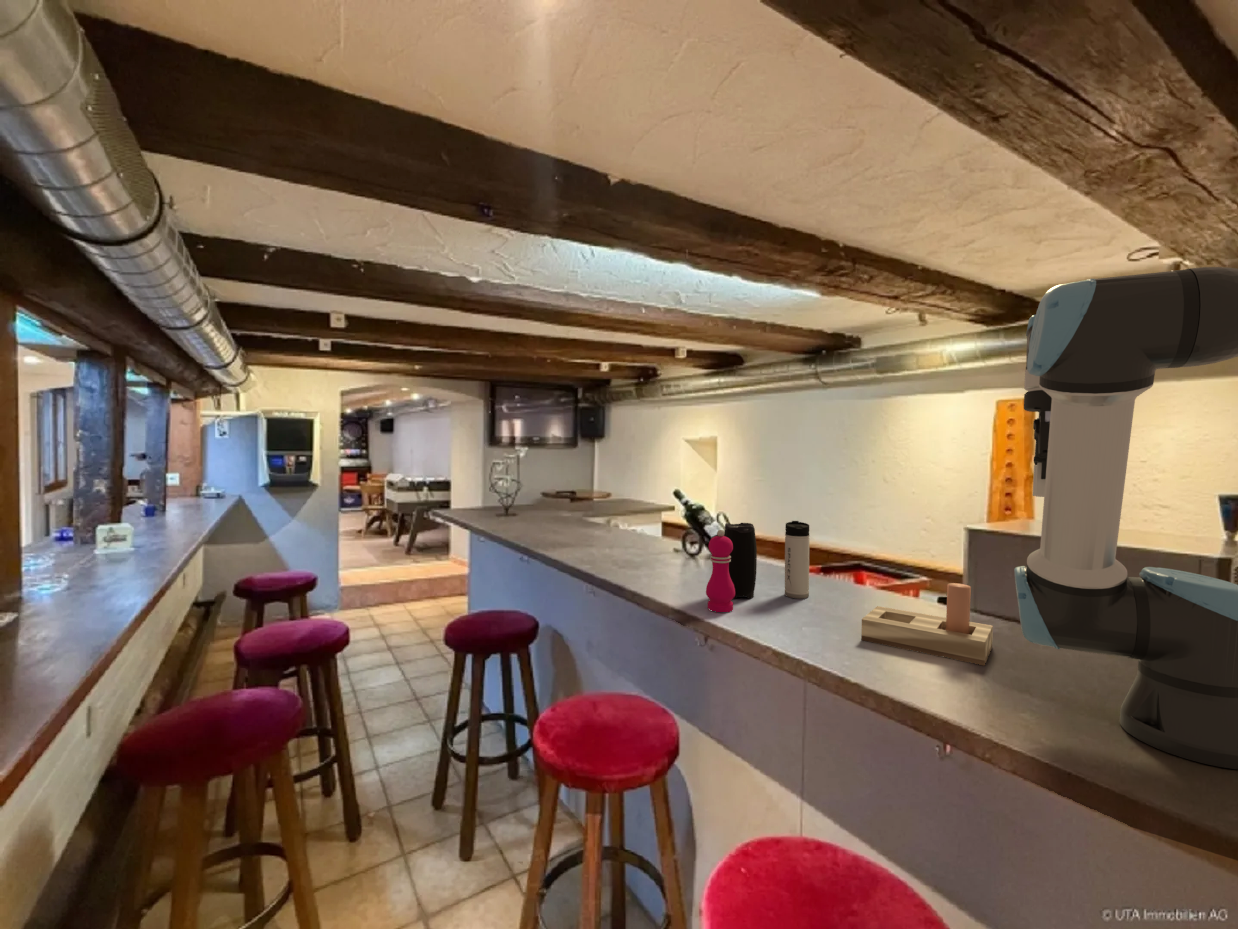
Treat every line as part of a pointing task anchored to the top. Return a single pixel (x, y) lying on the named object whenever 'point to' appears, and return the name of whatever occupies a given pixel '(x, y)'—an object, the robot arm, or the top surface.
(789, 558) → the travel mug
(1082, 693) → the top surface
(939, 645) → the socket block
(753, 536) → the portable speaker
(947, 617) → the pin
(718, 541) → the pepper mill
